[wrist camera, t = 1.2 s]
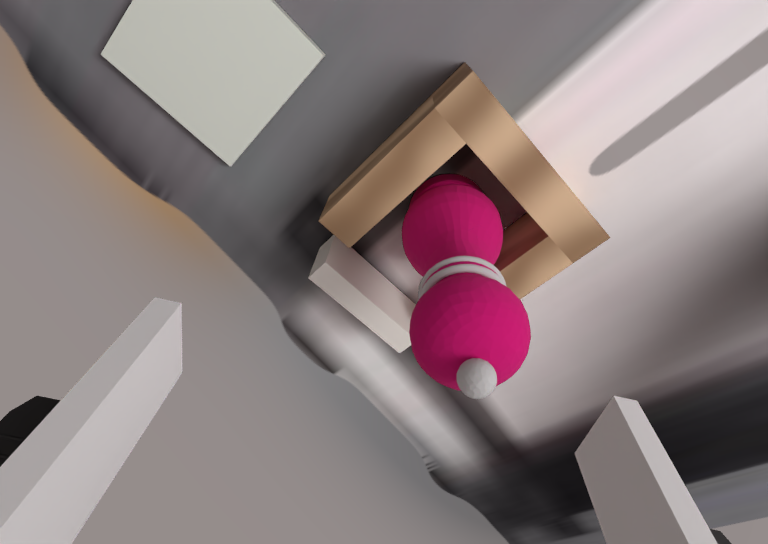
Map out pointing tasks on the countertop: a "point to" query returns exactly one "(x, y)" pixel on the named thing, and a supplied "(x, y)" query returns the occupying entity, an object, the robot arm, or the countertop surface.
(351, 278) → the white rectangular block
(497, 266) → the block
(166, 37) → the plate
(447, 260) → the pepper mill
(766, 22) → the countertop surface
